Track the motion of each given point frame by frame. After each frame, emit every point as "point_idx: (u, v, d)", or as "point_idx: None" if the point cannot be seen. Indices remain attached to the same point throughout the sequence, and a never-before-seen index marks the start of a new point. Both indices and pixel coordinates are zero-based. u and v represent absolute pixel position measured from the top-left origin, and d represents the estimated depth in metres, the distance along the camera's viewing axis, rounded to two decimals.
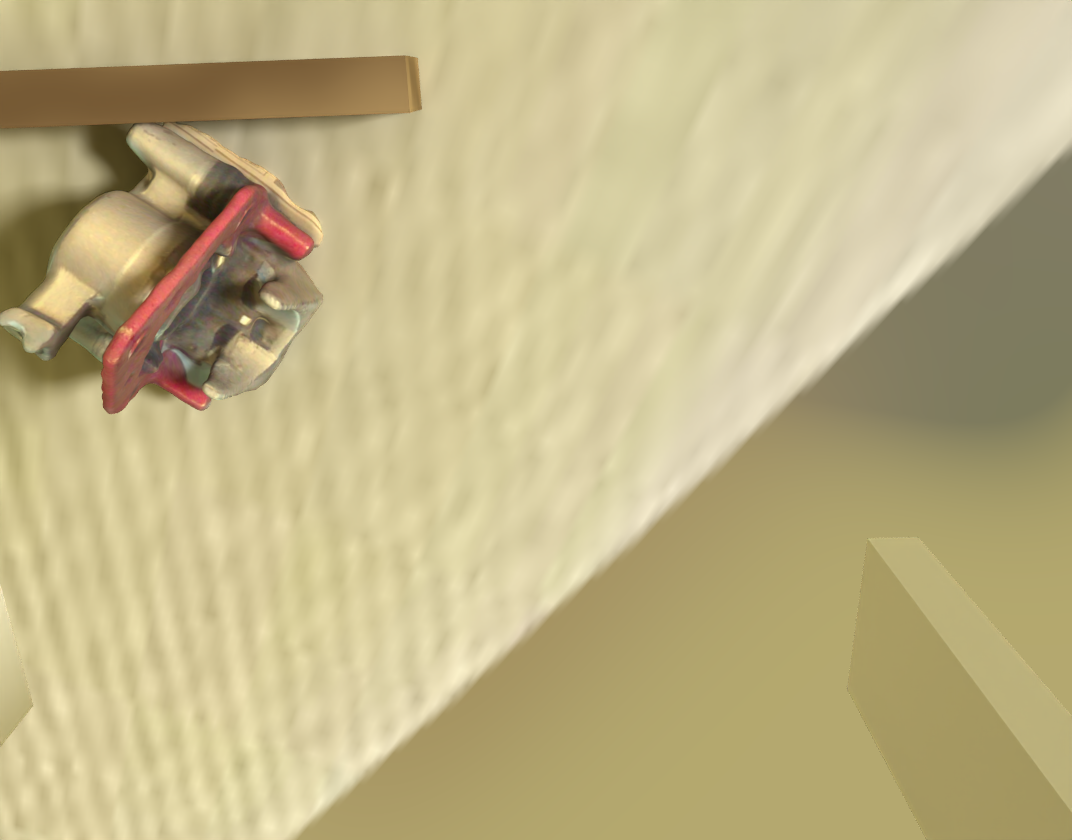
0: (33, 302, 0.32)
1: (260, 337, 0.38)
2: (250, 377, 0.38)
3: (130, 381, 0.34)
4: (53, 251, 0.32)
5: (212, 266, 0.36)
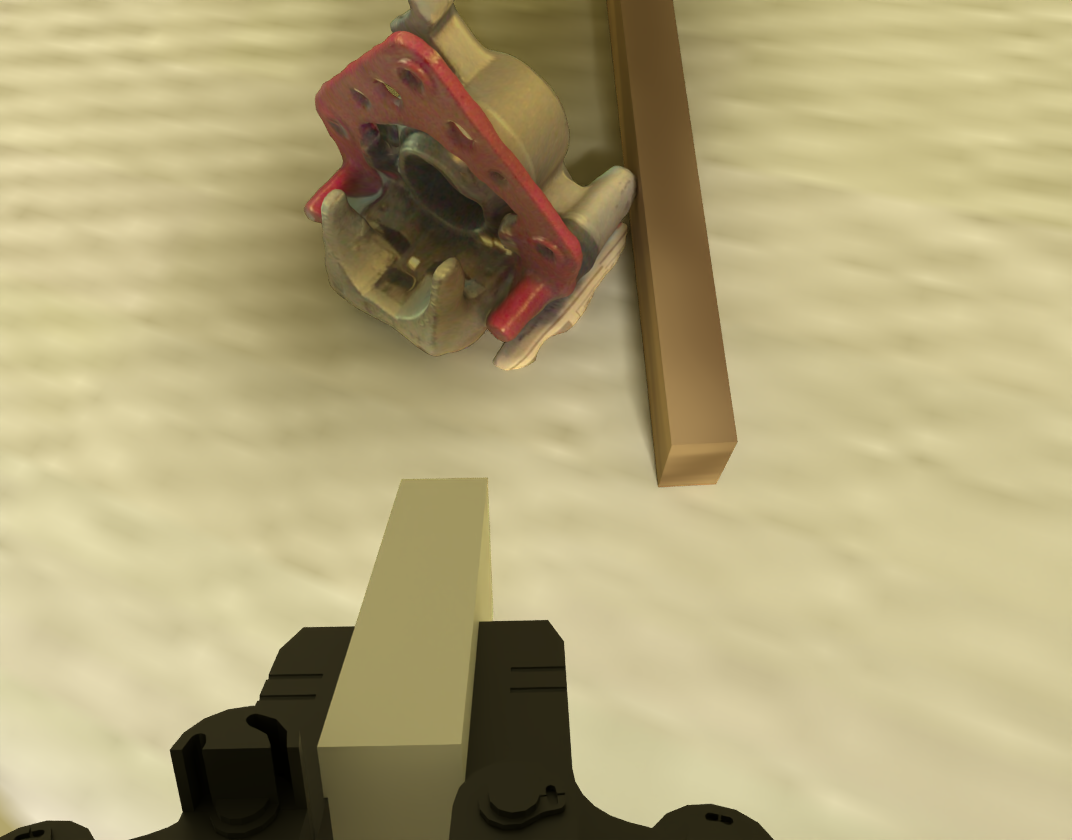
0: (458, 20, 0.29)
1: (390, 280, 0.31)
2: (343, 258, 0.30)
3: (356, 107, 0.29)
4: (511, 55, 0.29)
5: (482, 227, 0.31)
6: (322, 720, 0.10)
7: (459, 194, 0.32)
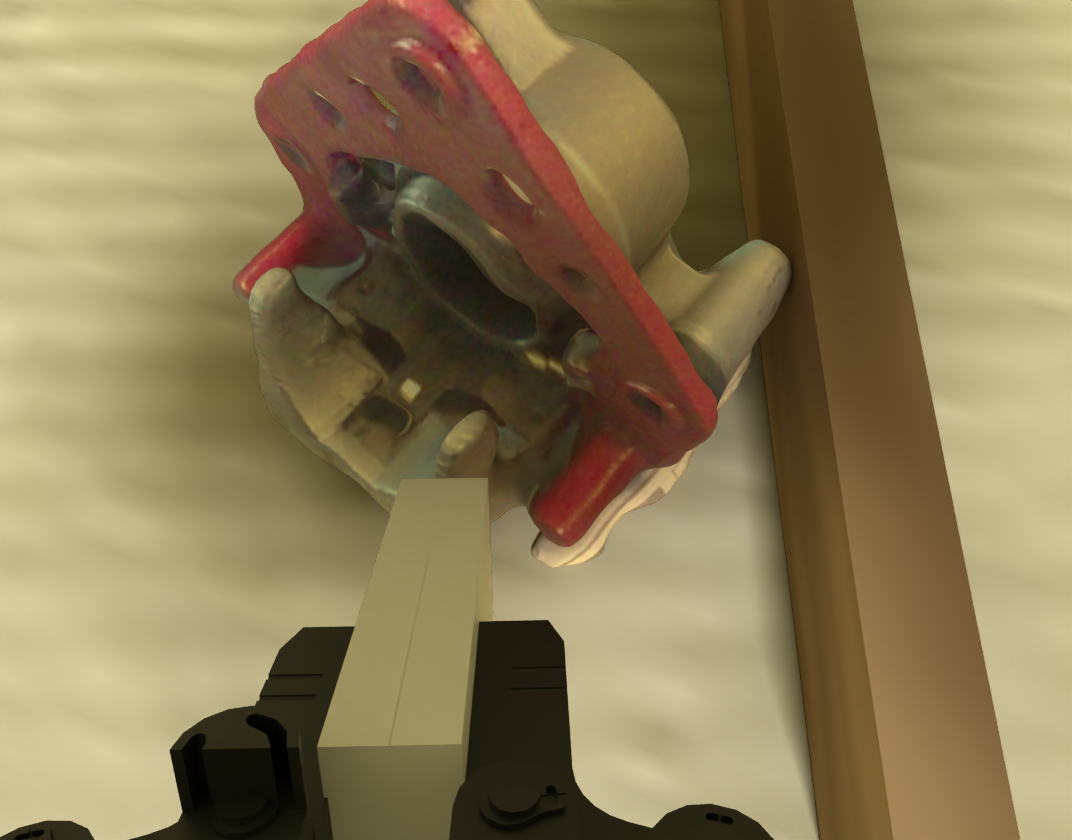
0: None
1: (370, 415, 0.18)
2: (288, 379, 0.18)
3: (320, 123, 0.16)
4: (601, 45, 0.17)
5: (530, 340, 0.18)
6: (322, 720, 0.10)
7: None
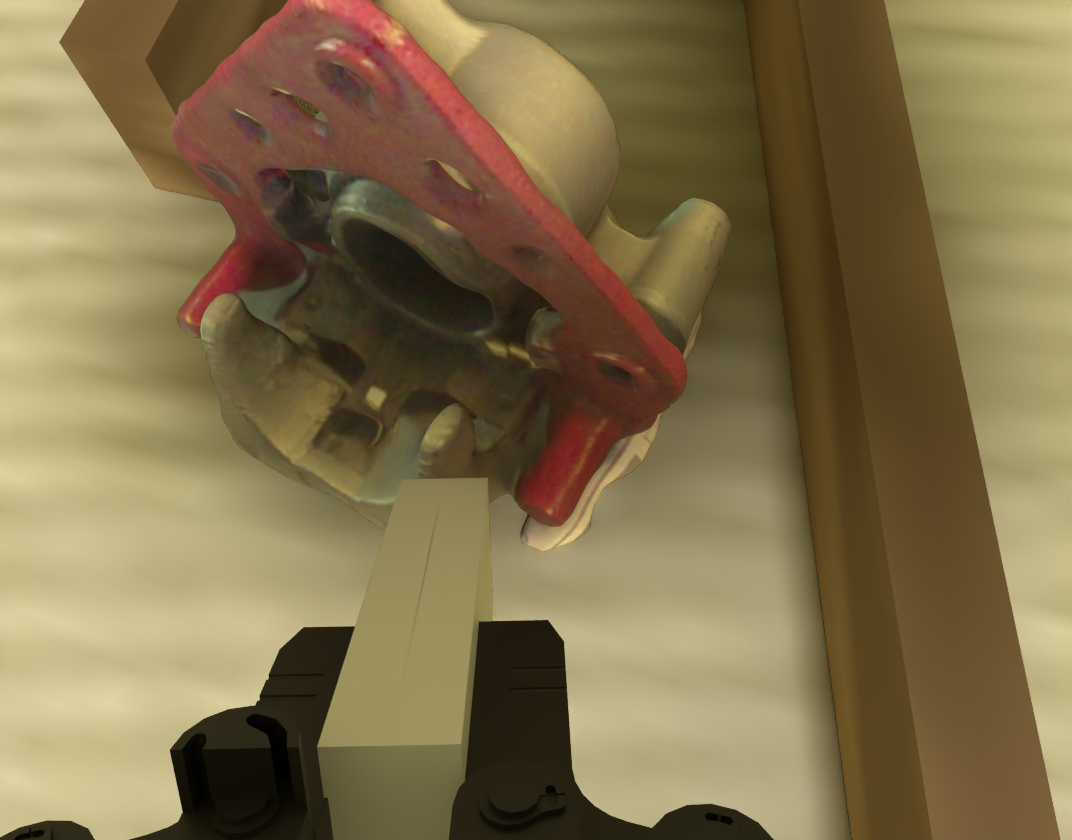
0: None
1: (339, 430, 0.18)
2: (251, 406, 0.17)
3: (245, 142, 0.16)
4: (513, 27, 0.17)
5: (488, 329, 0.18)
6: (322, 720, 0.10)
7: None
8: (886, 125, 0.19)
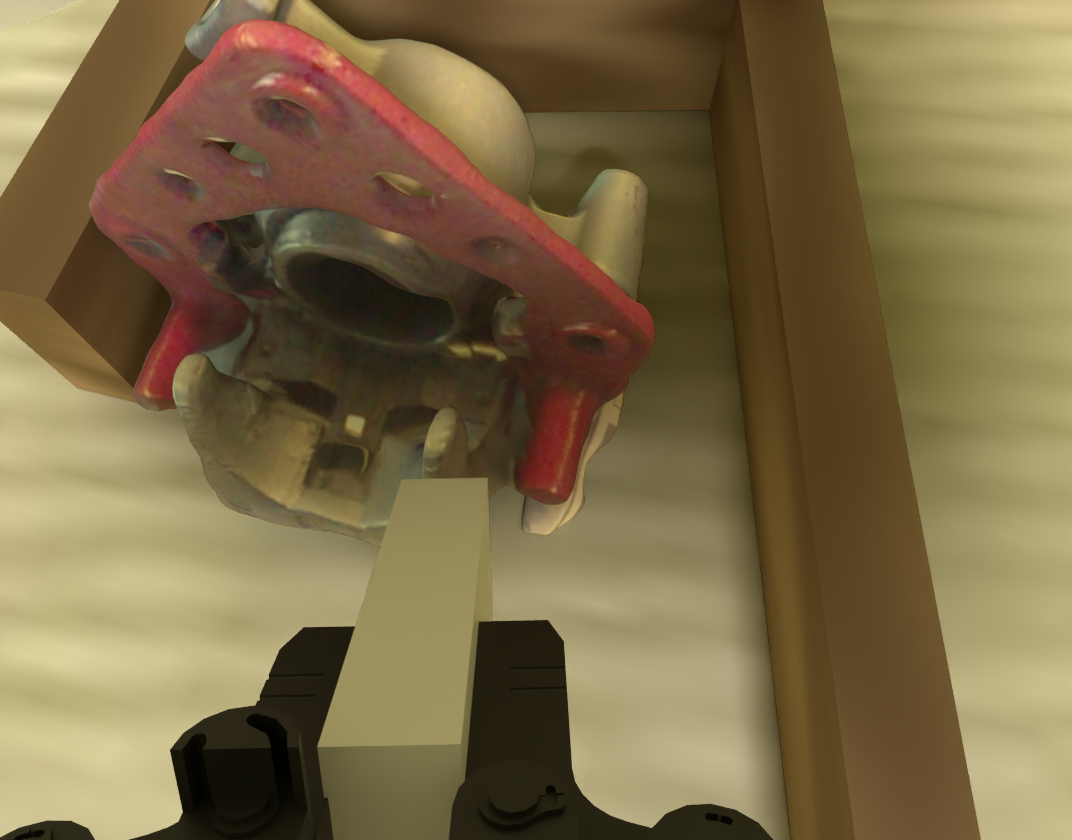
0: (305, 1, 0.16)
1: (326, 465, 0.18)
2: (236, 461, 0.17)
3: (176, 201, 0.16)
4: (408, 40, 0.17)
5: (450, 333, 0.18)
6: (323, 720, 0.10)
7: (385, 290, 0.19)
8: (864, 364, 0.17)
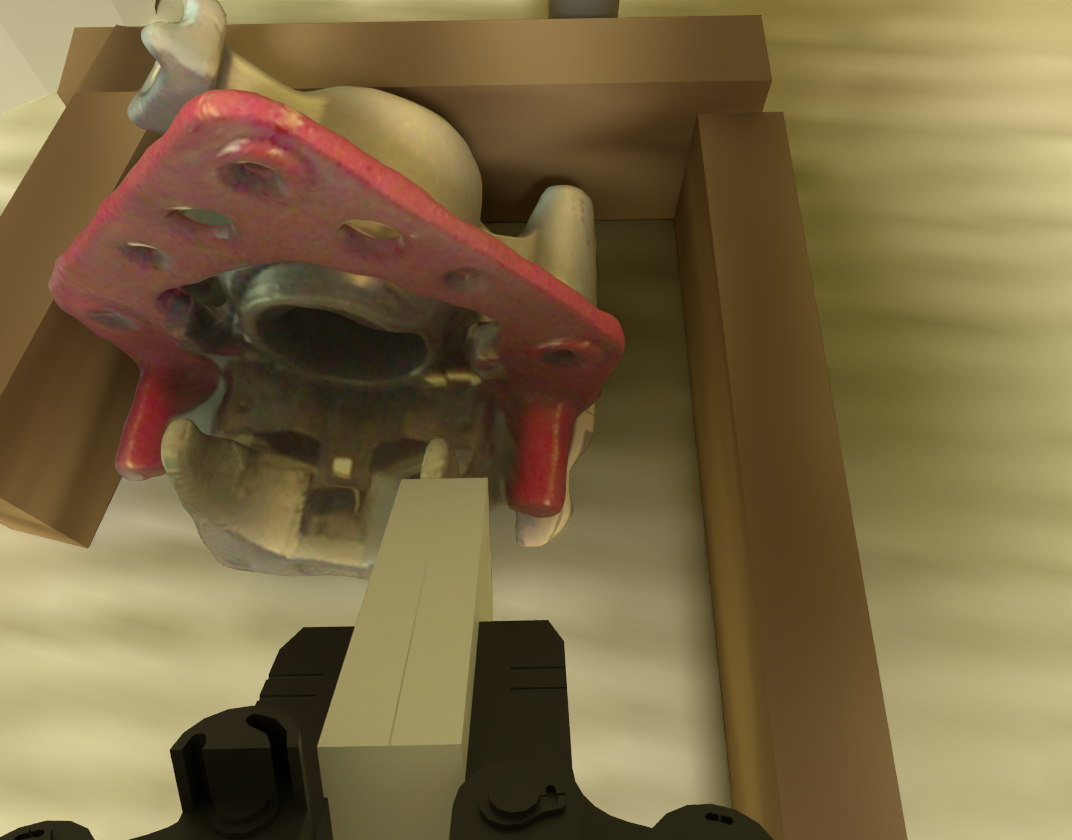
0: (242, 61, 0.16)
1: (318, 510, 0.19)
2: (231, 519, 0.17)
3: (141, 272, 0.16)
4: (346, 86, 0.17)
5: (424, 365, 0.18)
6: (322, 720, 0.10)
7: (353, 331, 0.19)
8: (826, 530, 0.16)
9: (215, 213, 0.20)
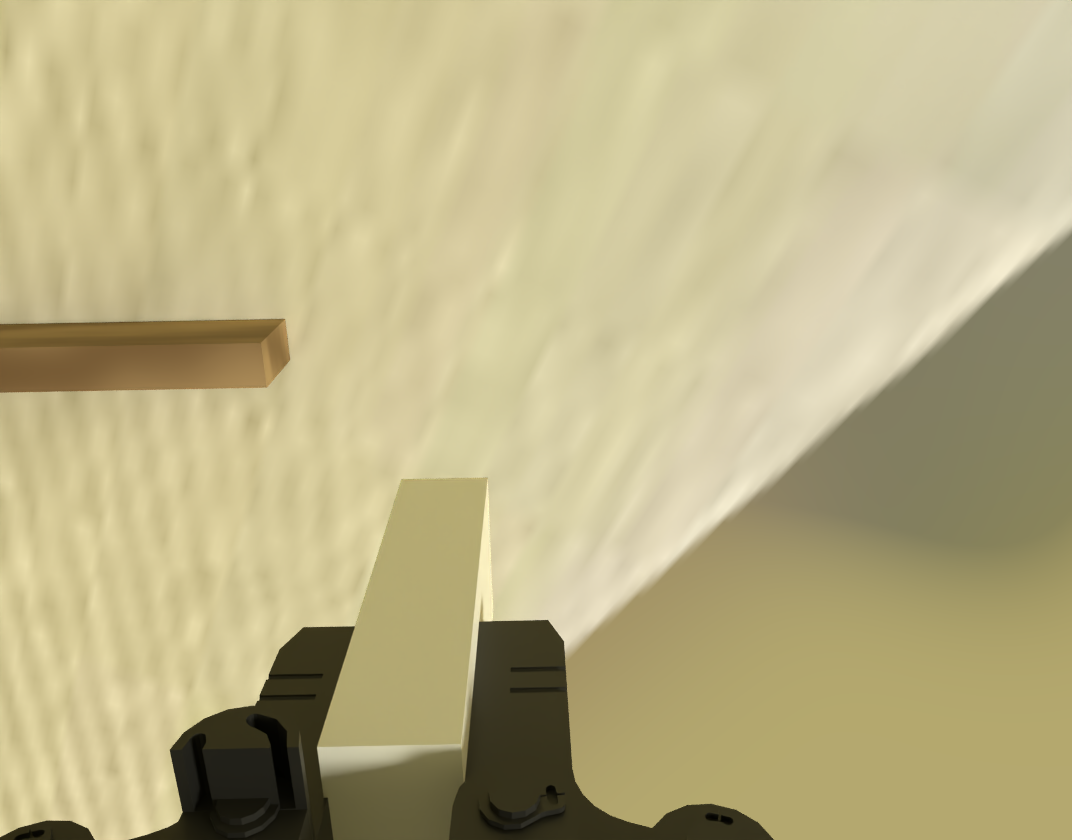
0: None
1: None
2: None
3: None
4: None
5: None
6: (322, 720, 0.10)
7: None
8: None
9: None
